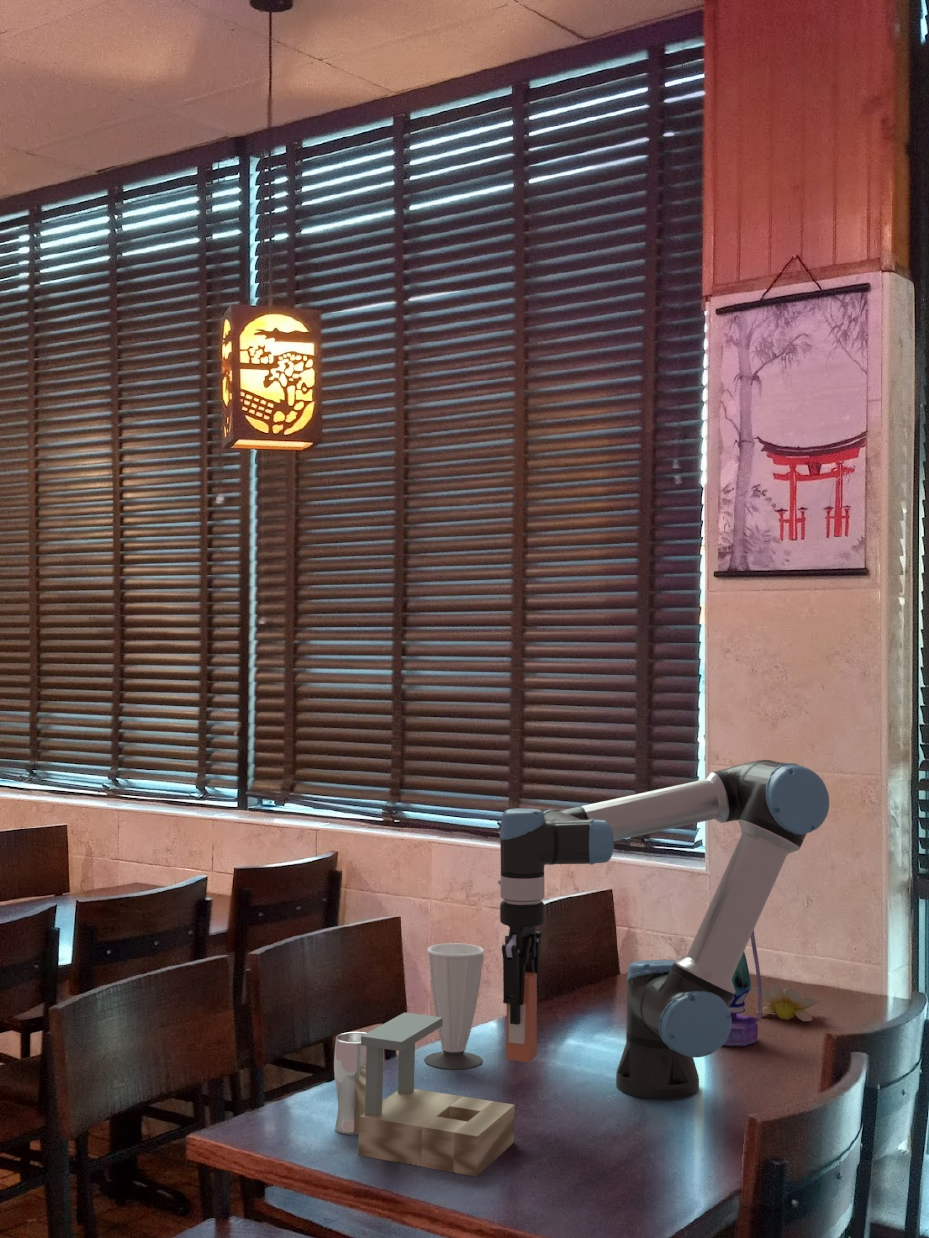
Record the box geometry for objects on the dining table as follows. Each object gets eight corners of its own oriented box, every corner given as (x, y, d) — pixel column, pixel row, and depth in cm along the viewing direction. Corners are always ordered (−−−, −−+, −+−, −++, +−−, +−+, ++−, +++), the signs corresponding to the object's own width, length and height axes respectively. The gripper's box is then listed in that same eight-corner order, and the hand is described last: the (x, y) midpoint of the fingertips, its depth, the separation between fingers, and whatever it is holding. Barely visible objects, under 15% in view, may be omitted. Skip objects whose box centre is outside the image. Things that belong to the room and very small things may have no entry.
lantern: (692, 1043, 271) (694, 897, 272) (703, 1029, 282) (705, 888, 283) (757, 1051, 266) (758, 902, 267) (766, 1037, 277) (768, 894, 278)
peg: (536, 1055, 224) (536, 972, 225) (528, 1062, 221) (528, 978, 221) (514, 1052, 226) (514, 970, 226) (506, 1059, 222) (506, 975, 223)
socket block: (513, 1142, 212) (514, 1104, 213) (476, 1176, 198) (477, 1136, 198) (402, 1123, 220) (402, 1086, 220) (358, 1155, 205) (359, 1116, 206)
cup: (490, 1056, 259) (492, 945, 260) (471, 1072, 248) (474, 957, 249) (436, 1049, 263) (438, 940, 264) (415, 1065, 252) (417, 952, 253)
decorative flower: (834, 1009, 294) (828, 967, 293) (818, 1032, 285) (812, 989, 284) (771, 1003, 302) (764, 962, 301) (753, 1025, 293) (746, 983, 292)
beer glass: (332, 1121, 220) (334, 1031, 221) (374, 1121, 221) (376, 1031, 221) (332, 1136, 213) (334, 1043, 214) (375, 1136, 214) (377, 1043, 214)
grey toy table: (441, 1092, 218) (442, 1017, 218) (399, 1123, 203) (401, 1041, 203) (402, 1086, 220) (404, 1012, 221) (359, 1116, 206) (361, 1036, 206)
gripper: (518, 890, 233) (518, 1023, 233) (483, 907, 218) (482, 1049, 217) (558, 893, 231) (558, 1028, 230) (525, 910, 215) (525, 1055, 214)
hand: (521, 1038), depth 223 cm, fingers closed on peg, 4 cm apart
